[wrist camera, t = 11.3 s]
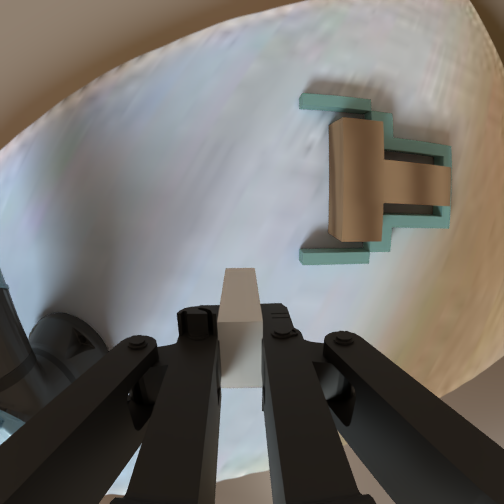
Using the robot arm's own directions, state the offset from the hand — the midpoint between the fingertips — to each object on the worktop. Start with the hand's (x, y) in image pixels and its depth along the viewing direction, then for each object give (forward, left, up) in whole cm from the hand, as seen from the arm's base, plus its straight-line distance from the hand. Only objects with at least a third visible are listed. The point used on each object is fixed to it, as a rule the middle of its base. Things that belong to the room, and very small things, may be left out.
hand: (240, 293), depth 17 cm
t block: (+19, +6, -25) cm, 31 cm away
